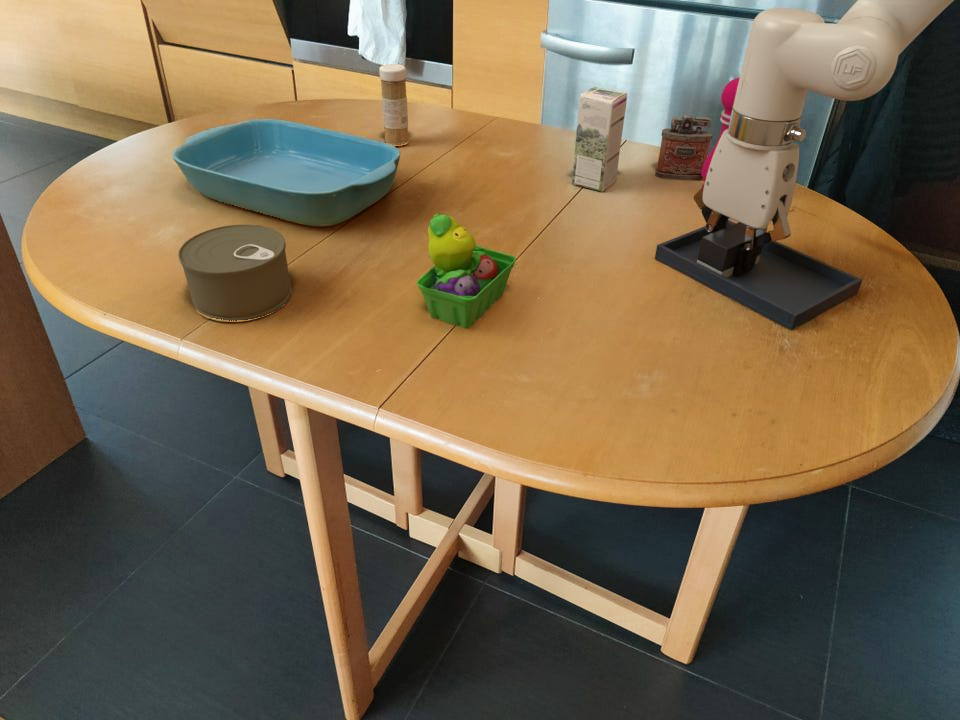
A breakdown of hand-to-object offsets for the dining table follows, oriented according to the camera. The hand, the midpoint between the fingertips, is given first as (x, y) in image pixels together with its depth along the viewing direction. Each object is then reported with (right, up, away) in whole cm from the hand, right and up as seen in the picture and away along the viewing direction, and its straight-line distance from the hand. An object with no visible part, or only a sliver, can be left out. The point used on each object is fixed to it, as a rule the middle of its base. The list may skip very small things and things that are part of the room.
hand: (727, 264), depth 94 cm
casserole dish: (-62, +13, +18) cm, 66 cm away
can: (-62, -5, -7) cm, 62 cm away
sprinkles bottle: (-48, +27, +37) cm, 66 cm away
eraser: (0, 0, 0) cm, 0 cm away
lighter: (+1, +18, +26) cm, 32 cm away
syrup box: (-14, +16, +23) cm, 32 cm away
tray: (+3, -2, -1) cm, 4 cm away
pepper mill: (+5, +13, +19) cm, 23 cm away
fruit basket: (-35, -6, -7) cm, 36 cm away
